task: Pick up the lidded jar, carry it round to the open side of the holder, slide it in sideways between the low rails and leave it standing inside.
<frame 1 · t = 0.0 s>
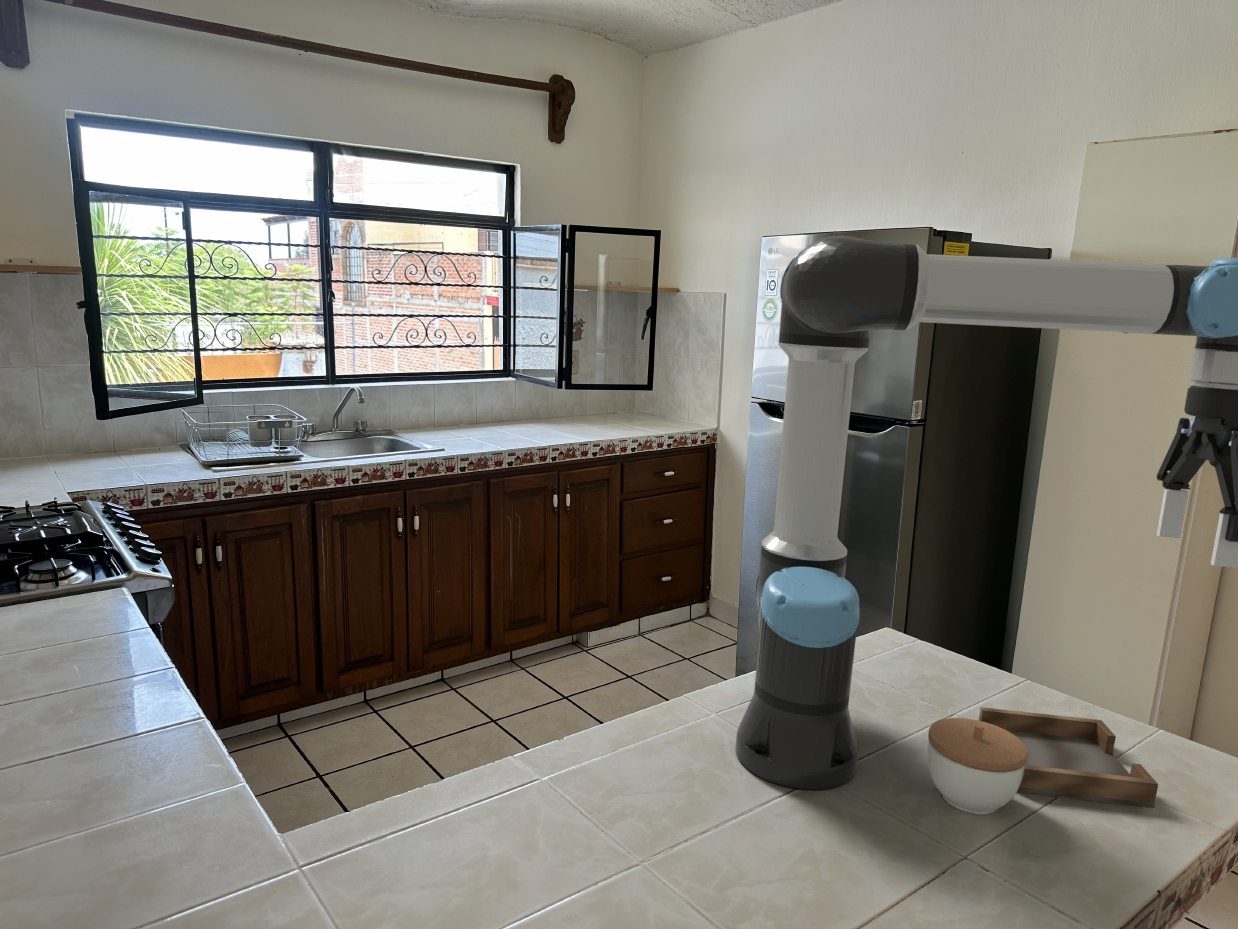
hand: (1194, 550, 109), 28 cm above the countertop, tool pointing down, fingers open, 13 cm apart
lidded jar: (968, 801, 100), on the countertop
holder: (1047, 763, 109), on the countertop
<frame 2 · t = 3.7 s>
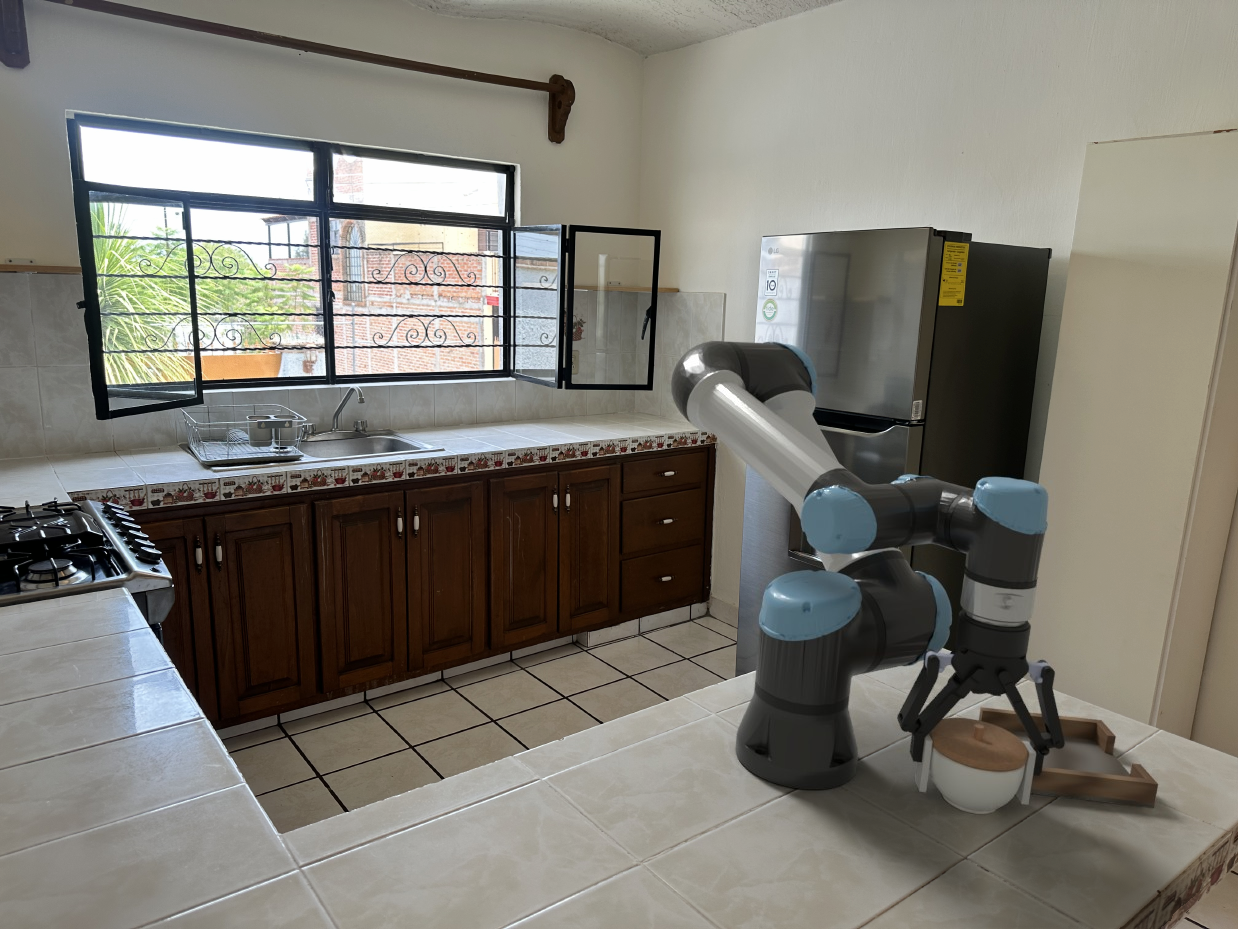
hand: (970, 791, 100), 1 cm above the countertop, tool pointing down, fingers closed on lidded jar, 11 cm apart
lidded jar: (968, 800, 100), on the countertop, touching gripper
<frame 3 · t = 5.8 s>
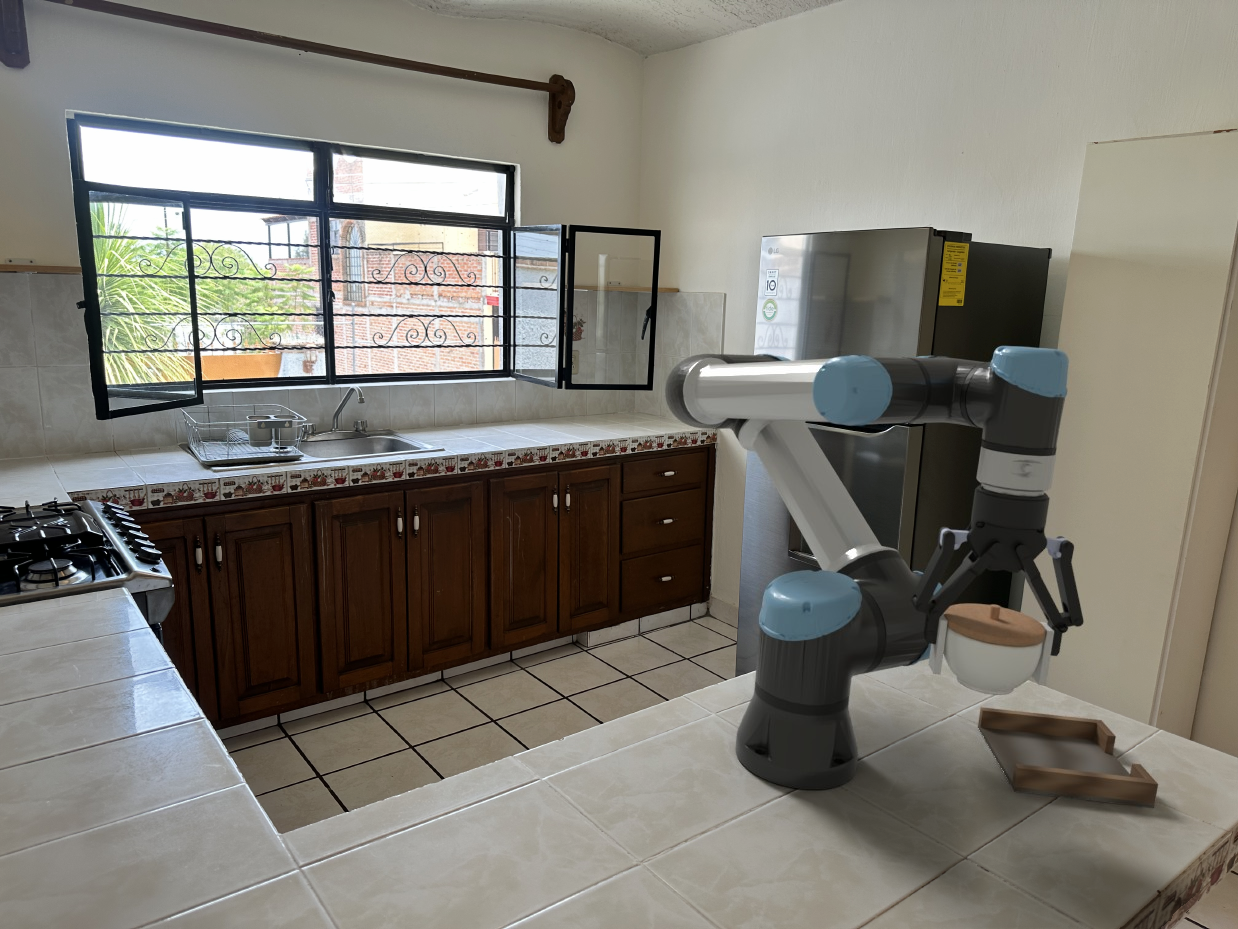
hand: (985, 675, 97), 16 cm above the countertop, tool pointing down, fingers closed on lidded jar, 11 cm apart
lidded jar: (984, 684, 97), point 14 cm above the countertop, touching gripper
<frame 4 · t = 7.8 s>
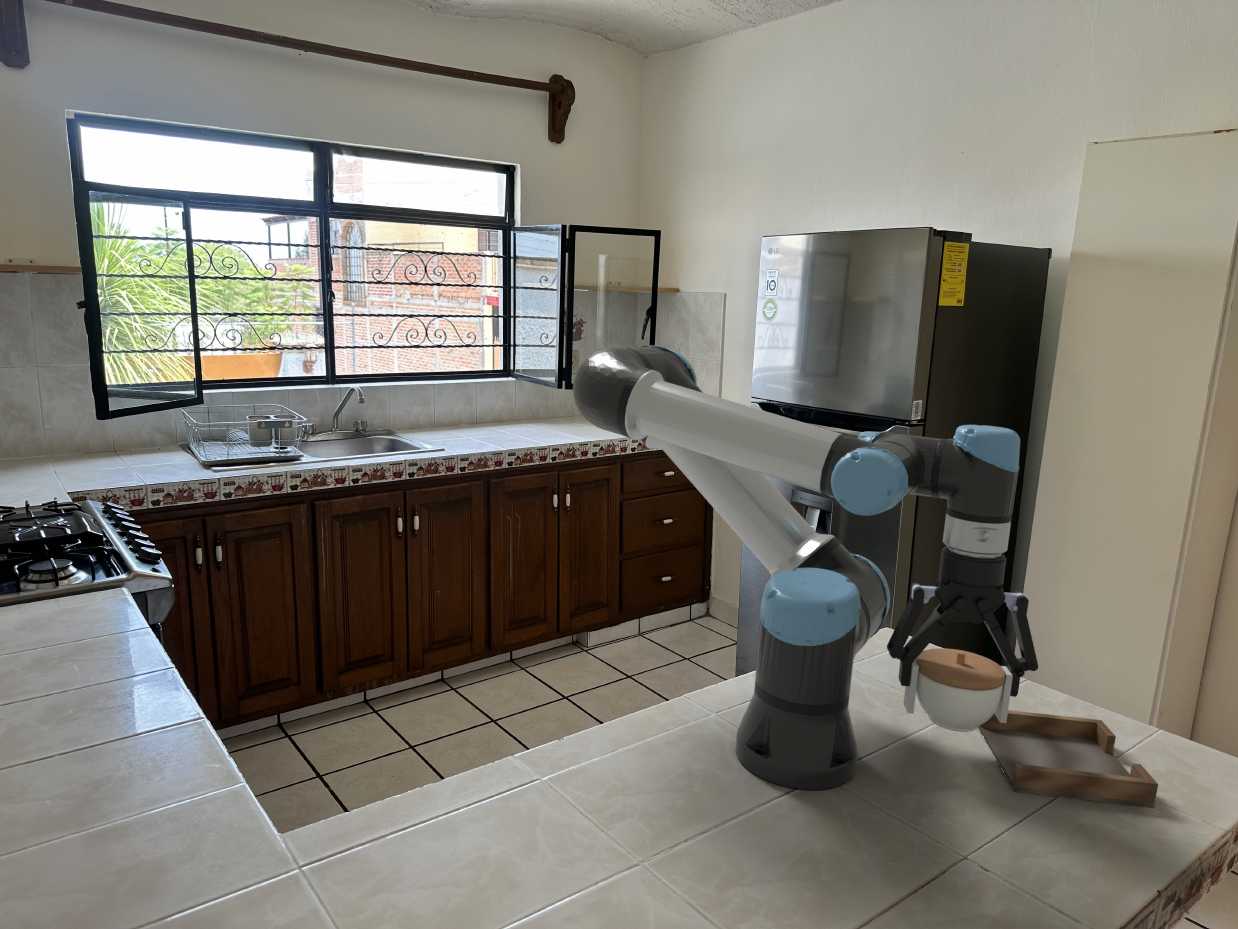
hand: (953, 713, 109), 6 cm above the countertop, tool pointing down, fingers closed on lidded jar, 11 cm apart
lidded jar: (952, 721, 110), point 4 cm above the countertop, touching gripper
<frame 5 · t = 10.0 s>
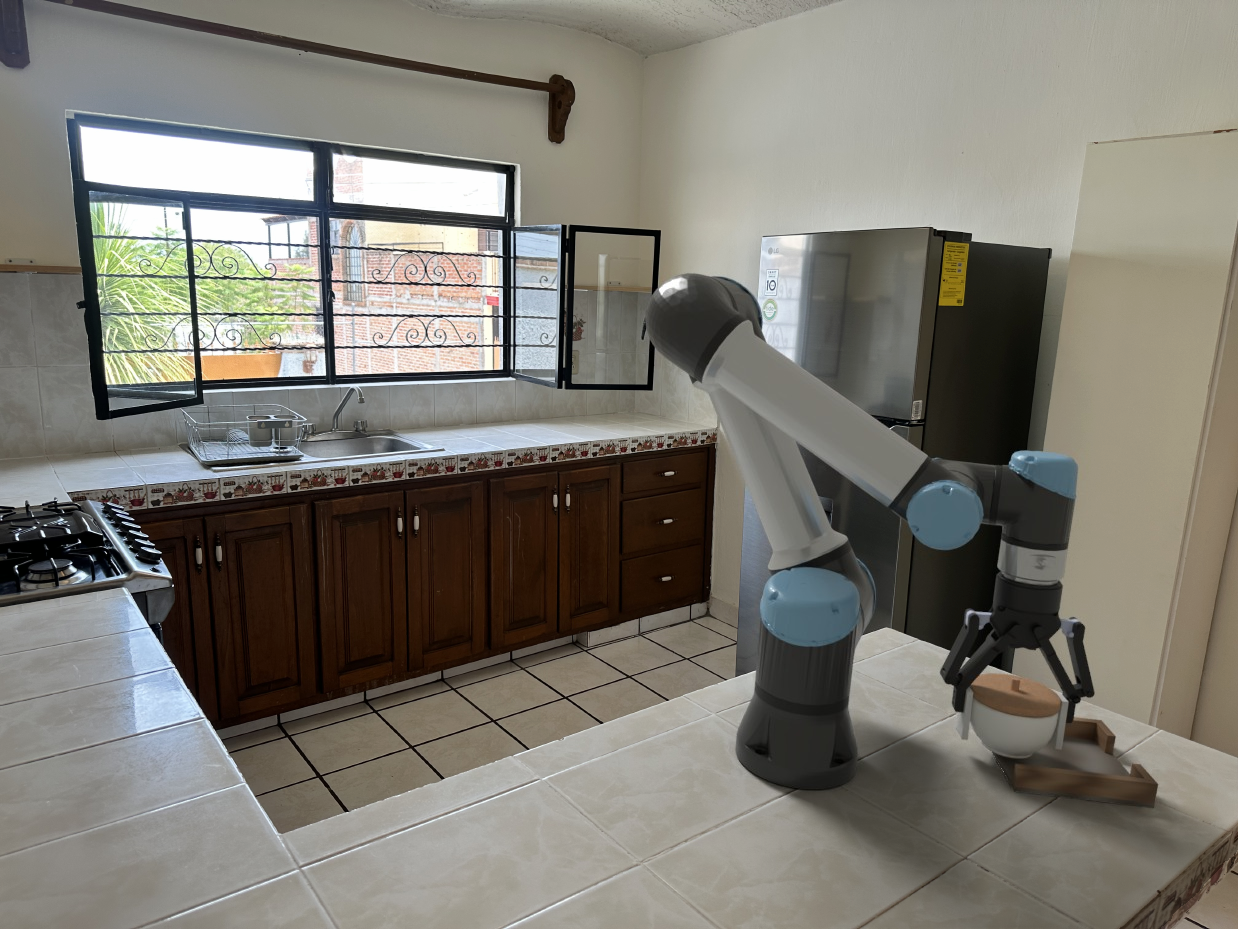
hand: (1007, 739, 109), 3 cm above the countertop, tool pointing down, fingers closed on lidded jar, 11 cm apart
lidded jar: (1006, 747, 109), point 2 cm above the countertop, touching gripper
when the fingers open (2 cm above the countertop, at t = 11.9 s): lidded jar stays where it is, resting on holder.
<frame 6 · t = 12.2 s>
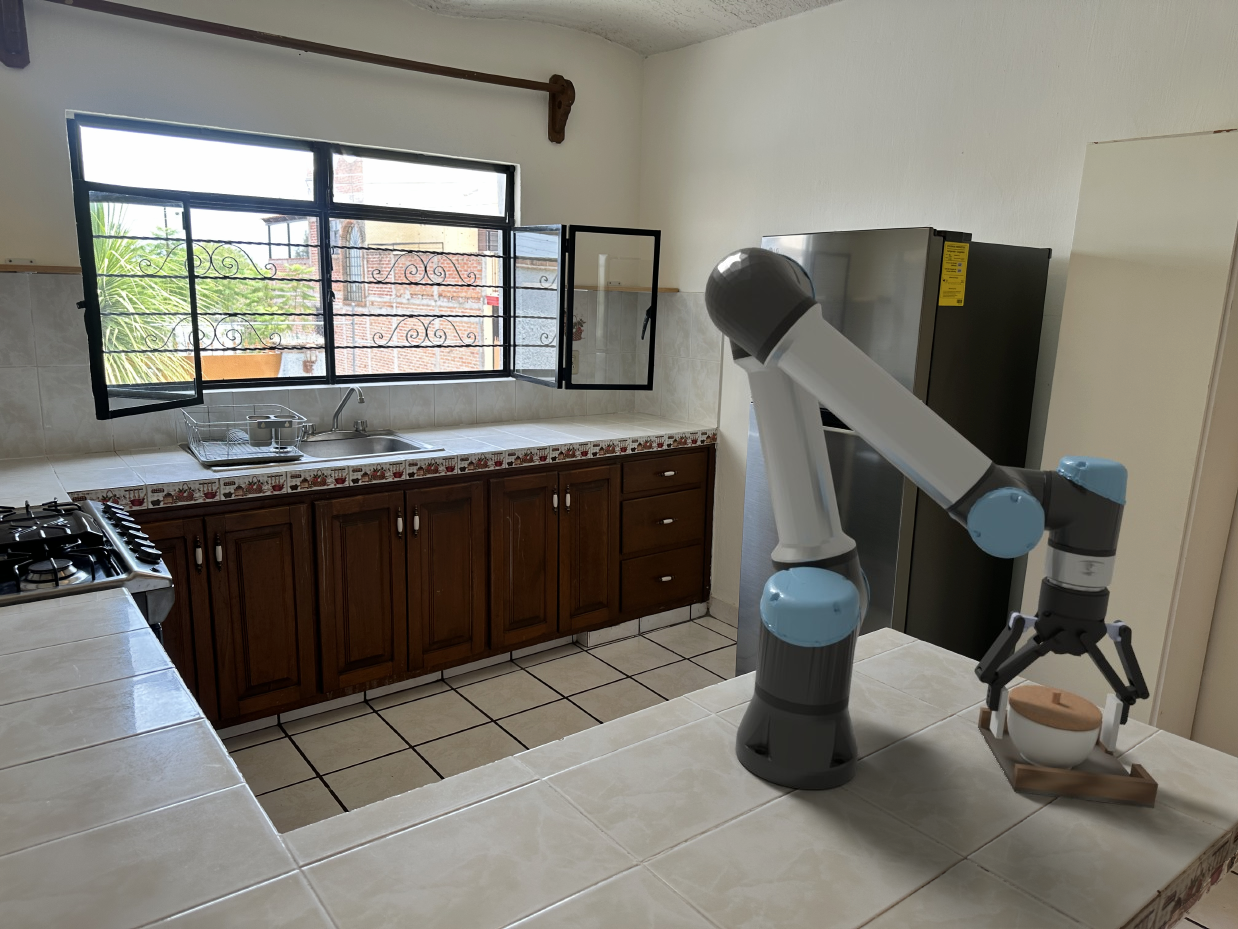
hand: (1050, 740, 108), 3 cm above the countertop, tool pointing down, fingers open, 13 cm apart
lidded jar: (1045, 760, 109), resting on holder
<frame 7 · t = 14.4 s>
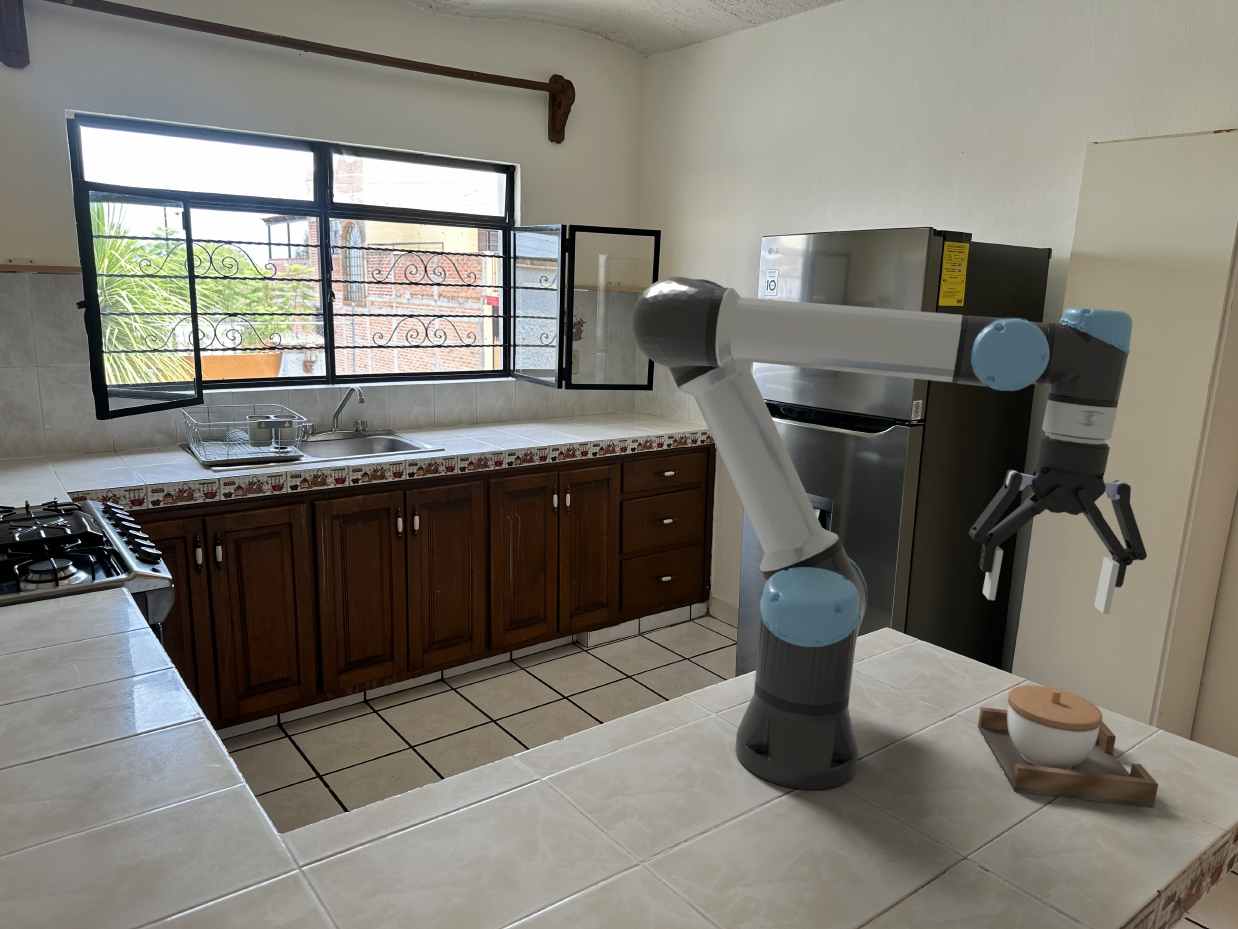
hand: (1044, 603, 106), 21 cm above the countertop, tool pointing down, fingers open, 13 cm apart
nothing on the countertop moved.
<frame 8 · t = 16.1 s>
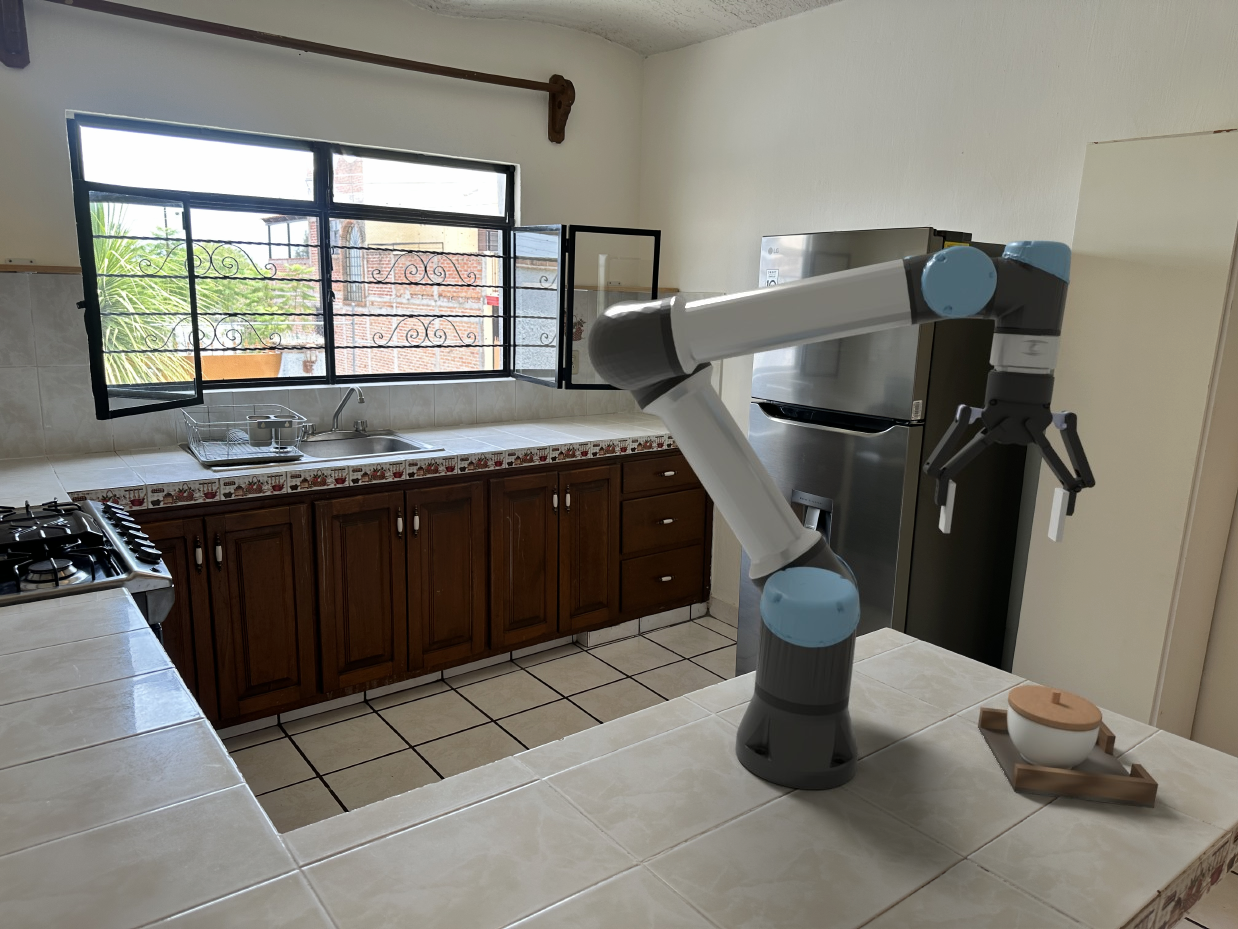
hand: (998, 535, 109), 29 cm above the countertop, tool pointing down, fingers open, 13 cm apart
nothing on the countertop moved.
at the end: lidded jar 0.3 cm off-centre on the holder, point 0.4 cm above the holder's base; lidded jar tilted 0°; the gripper is holding nothing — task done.
